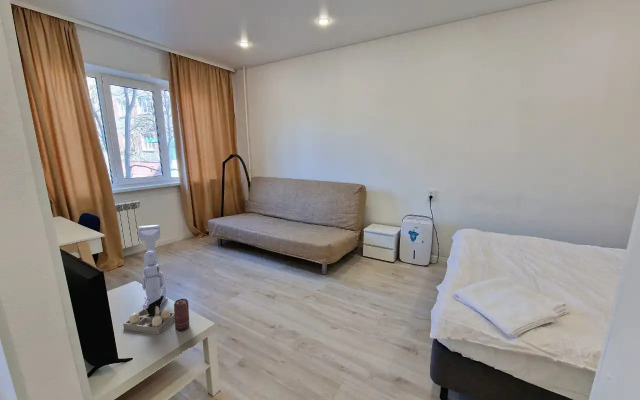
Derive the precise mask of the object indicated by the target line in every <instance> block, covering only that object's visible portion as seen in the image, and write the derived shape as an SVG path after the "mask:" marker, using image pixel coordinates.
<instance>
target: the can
mask: <svg viewBox="0 0 640 400" xmlns="http://www.w3.org/2000/svg"><path fill="white" fill-rule="evenodd" d="M173 311H174V312H173V313H174V315H175V320H174V327H175V331H176V332H179V333H181V332H185V331H186V330H188V329H189V327H190V314H189V313H190V309H189V301H188V299H187V298H180V299H177V300H176V301H175V302H174V304H173Z"/></svg>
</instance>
